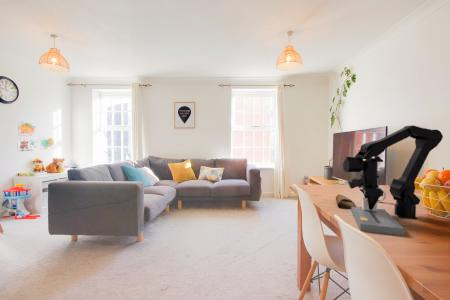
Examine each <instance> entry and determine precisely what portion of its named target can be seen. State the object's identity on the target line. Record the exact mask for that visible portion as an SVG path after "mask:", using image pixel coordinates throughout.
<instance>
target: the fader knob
mask: <svg viewBox="0 0 450 300" xmlns="http://www.w3.org/2000/svg"><path fill="white" fill-rule="evenodd" d="M361 201H362V202H361V205H362V206H361V207H362V209H363V210H369V206H368V200H367V198H365V197H362V199H361ZM377 209H378V202H376V204H375V206H374V208H373V209H372V211H377Z"/></svg>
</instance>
